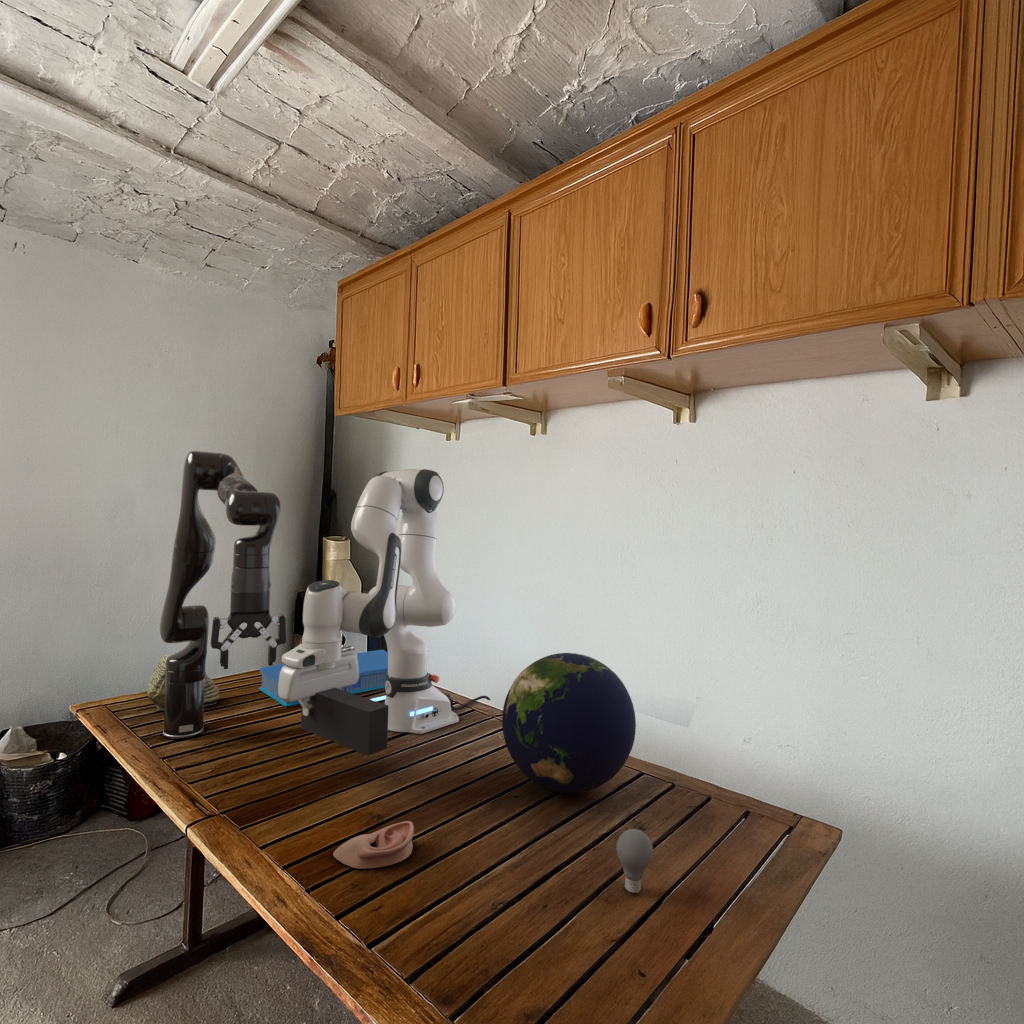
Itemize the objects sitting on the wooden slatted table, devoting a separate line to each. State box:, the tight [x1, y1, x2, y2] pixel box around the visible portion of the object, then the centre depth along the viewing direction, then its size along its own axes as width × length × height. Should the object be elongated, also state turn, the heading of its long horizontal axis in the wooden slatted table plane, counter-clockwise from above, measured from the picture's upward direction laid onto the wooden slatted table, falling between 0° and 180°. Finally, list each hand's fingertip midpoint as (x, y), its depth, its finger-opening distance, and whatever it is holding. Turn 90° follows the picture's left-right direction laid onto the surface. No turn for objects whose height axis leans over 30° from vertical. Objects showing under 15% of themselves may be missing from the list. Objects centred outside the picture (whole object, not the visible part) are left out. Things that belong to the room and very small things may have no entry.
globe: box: [501, 652, 637, 794], centre depth 143 cm, size 30×30×30 cm
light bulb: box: [615, 828, 654, 894], centre depth 106 cm, size 6×6×10 cm
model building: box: [258, 649, 388, 707], centre depth 208 cm, size 39×24×10 cm, turn 132°
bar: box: [300, 688, 389, 757], centre depth 142 cm, size 23×5×9 cm, turn 54°
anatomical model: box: [332, 820, 415, 870], centre depth 114 cm, size 13×4×12 cm
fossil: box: [147, 654, 221, 712], centre depth 185 cm, size 9×18×15 cm, turn 132°
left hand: (248, 666), depth 131 cm, fingers open, 8 cm apart
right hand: (319, 711), depth 146 cm, fingers closed on bar, 5 cm apart
